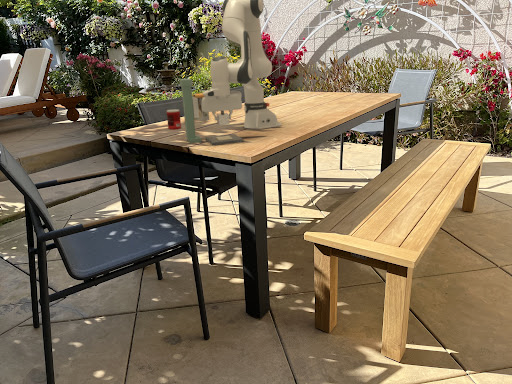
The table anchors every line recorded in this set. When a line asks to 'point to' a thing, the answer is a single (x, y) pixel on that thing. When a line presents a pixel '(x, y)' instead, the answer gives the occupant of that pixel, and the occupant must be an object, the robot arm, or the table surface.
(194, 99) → the ram
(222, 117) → the housing
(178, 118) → the canned food
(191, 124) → the frame
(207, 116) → the coffee box
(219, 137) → the plate
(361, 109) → the table surface
